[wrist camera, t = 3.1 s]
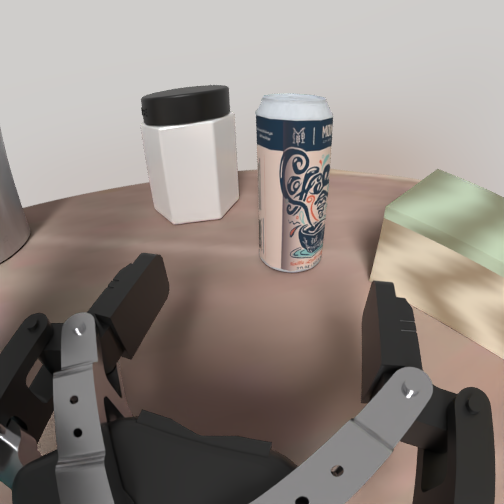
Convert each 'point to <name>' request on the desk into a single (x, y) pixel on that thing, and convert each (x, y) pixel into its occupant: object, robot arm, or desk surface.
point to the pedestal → (448, 255)
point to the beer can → (293, 179)
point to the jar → (191, 152)
